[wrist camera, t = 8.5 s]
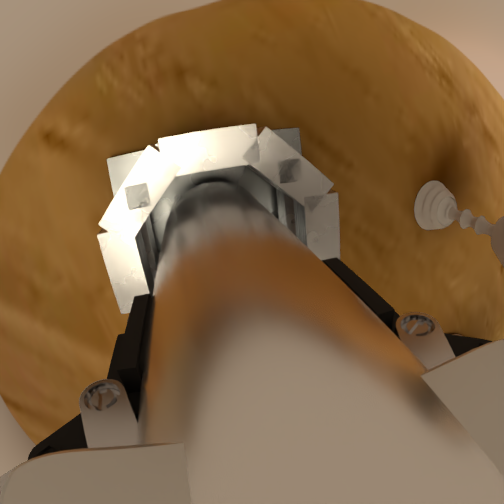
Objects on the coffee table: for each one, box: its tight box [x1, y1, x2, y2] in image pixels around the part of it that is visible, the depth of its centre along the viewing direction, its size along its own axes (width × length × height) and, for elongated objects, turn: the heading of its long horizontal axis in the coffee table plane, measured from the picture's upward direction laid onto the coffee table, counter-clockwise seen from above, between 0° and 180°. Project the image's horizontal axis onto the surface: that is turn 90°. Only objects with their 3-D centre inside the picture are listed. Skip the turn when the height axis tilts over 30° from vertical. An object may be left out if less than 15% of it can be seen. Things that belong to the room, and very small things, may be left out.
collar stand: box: [97, 124, 340, 321], centre depth 21 cm, size 14×13×8 cm
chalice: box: [414, 181, 504, 267], centre depth 20 cm, size 7×7×18 cm
